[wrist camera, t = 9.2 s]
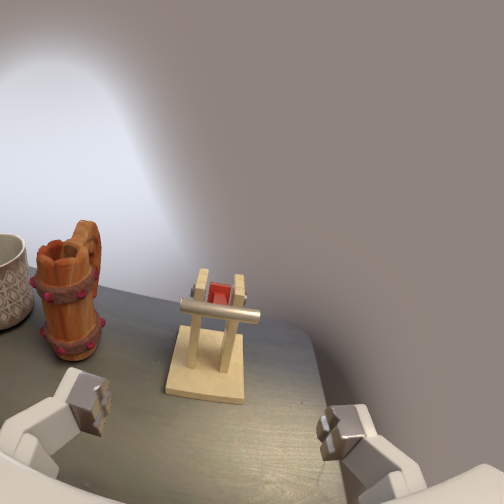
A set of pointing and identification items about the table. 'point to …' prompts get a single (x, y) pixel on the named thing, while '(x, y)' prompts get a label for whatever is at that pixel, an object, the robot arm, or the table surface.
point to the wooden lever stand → (209, 354)
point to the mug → (70, 292)
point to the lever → (219, 306)
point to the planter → (14, 281)
